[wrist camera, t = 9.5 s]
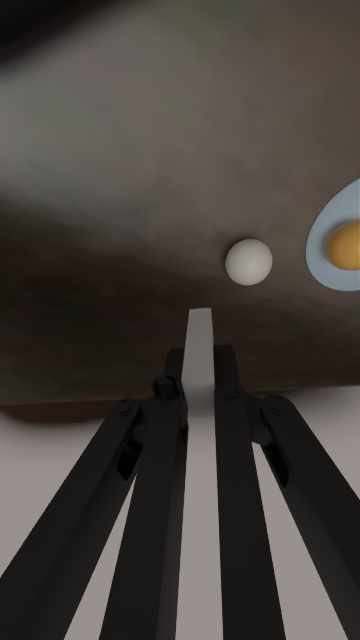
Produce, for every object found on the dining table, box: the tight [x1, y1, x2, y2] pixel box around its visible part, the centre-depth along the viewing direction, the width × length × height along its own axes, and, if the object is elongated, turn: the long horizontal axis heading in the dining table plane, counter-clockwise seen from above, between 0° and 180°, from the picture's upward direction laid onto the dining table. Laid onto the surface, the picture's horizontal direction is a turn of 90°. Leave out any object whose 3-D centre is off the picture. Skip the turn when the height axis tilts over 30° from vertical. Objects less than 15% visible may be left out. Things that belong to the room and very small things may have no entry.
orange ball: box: [326, 219, 360, 271], centre depth 25 cm, size 6×6×6 cm
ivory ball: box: [225, 239, 272, 285], centre depth 27 cm, size 6×6×6 cm
